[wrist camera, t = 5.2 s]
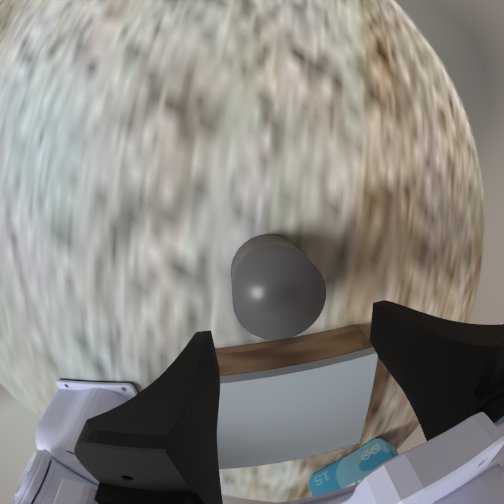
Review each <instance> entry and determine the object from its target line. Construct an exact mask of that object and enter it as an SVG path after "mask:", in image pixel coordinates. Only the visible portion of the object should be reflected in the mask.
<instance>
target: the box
mask: <svg viewBox="0 0 504 504" xmlns="http://www.w3.org/2000/svg"><path fill="white" fill-rule="evenodd" d="M371 347H373V346H372V344H371V342H370V341H369V340H368V338H367V337H366V336H365V335H364V333H363V332H362V331H361V330H360V328H359V327H358V326H357V325H353V326H349V327H344V328H340V329H335V330H331V331H326V332H321V333H316V334H311V335H306V336H300V337H295V338H289V339H283V340H277V341H271V342H264V343H258V344H251V345H244V346H236V347H228V348H219V349H215V352H216V356H217V360H218V365H219V371H220V376H226V375H235V374H243V373H250V372H257V371H264V370H270V369H276V368H282V367H288V366H293V365H299V364H304V363H309V362H314V361H318V360H323V359H327V358H332V357H336V356H340V355H344V354H348V353H352V352H356V351H360V350H364V349H367V348H371Z"/></svg>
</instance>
